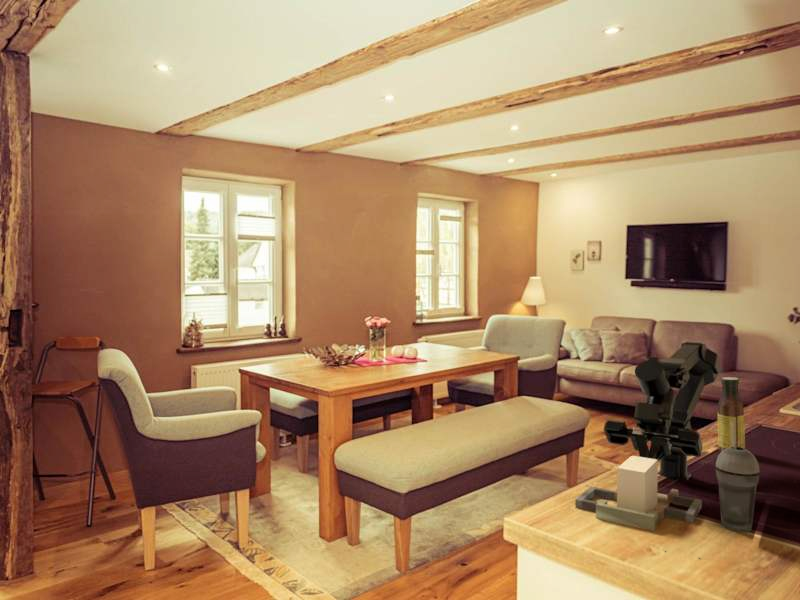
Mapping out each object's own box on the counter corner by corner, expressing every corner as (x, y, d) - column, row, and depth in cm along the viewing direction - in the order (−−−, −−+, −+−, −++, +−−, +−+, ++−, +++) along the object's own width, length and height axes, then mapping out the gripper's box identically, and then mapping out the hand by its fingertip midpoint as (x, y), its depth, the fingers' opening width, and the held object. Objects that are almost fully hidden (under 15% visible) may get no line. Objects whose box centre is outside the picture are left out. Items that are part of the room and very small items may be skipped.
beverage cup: (735, 542, 106) (737, 429, 105) (704, 526, 113) (706, 420, 112) (769, 538, 108) (771, 426, 107) (736, 522, 115) (738, 417, 114)
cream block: (631, 498, 125) (631, 455, 124) (657, 503, 122) (657, 459, 121) (616, 514, 116) (617, 467, 116) (644, 520, 114) (644, 472, 113)
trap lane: (603, 487, 134) (603, 471, 134) (704, 507, 123) (705, 489, 122) (569, 516, 118) (570, 499, 118) (683, 543, 106) (684, 523, 106)
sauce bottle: (738, 449, 163) (739, 376, 163) (749, 456, 157) (750, 380, 156) (712, 449, 164) (713, 376, 163) (722, 455, 158) (724, 379, 157)
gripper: (606, 382, 133) (589, 443, 124) (700, 392, 122) (688, 459, 113) (617, 412, 139) (601, 472, 131) (707, 423, 128) (696, 489, 120)
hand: (644, 472), depth 123 cm, fingers closed
